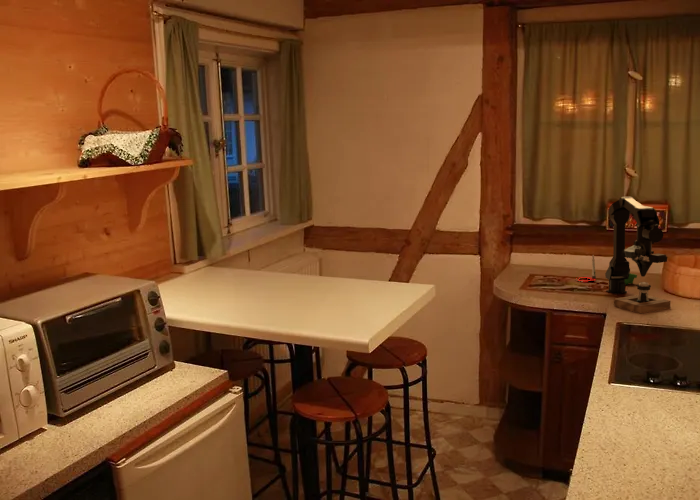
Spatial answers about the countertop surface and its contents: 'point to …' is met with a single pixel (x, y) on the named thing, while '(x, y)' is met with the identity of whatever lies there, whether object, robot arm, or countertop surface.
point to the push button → (643, 292)
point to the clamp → (630, 279)
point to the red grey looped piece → (592, 272)
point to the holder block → (642, 304)
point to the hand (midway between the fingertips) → (642, 276)
